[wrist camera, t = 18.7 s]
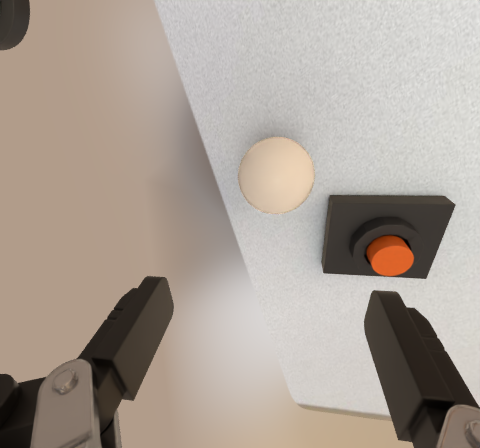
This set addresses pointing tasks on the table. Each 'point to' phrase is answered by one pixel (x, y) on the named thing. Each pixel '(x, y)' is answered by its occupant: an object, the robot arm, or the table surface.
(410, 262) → the button
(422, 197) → the housing
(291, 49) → the table surface
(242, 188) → the lightbulb
